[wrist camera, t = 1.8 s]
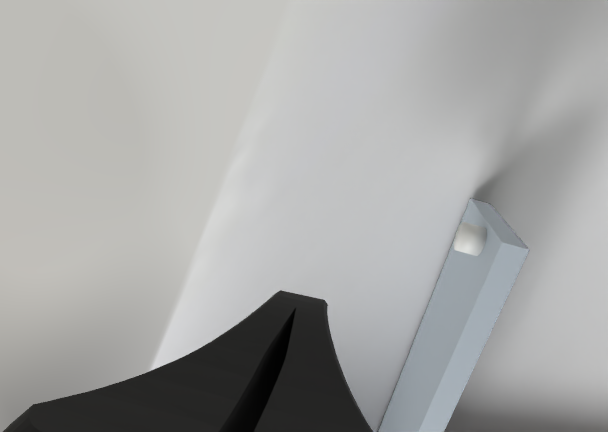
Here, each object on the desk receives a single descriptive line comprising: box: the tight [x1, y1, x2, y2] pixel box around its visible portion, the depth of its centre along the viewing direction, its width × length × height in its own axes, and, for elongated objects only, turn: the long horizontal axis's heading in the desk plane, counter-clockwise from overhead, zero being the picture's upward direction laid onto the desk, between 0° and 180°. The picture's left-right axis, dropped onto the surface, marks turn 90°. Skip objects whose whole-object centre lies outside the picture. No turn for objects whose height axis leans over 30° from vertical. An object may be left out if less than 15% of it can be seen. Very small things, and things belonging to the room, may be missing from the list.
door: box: [378, 199, 529, 432], centre depth 17 cm, size 14×2×5 cm, turn 167°
